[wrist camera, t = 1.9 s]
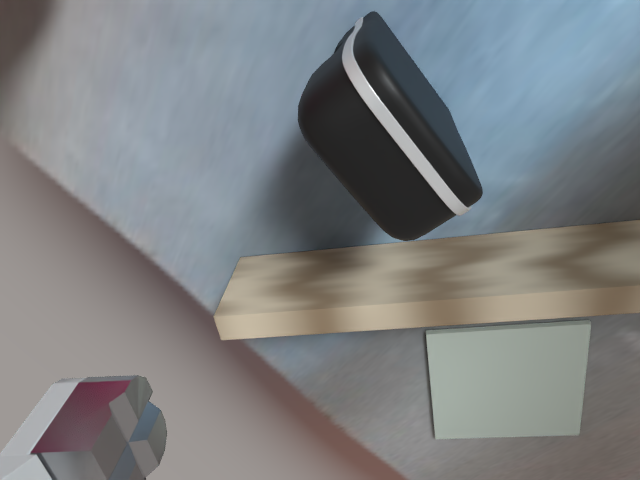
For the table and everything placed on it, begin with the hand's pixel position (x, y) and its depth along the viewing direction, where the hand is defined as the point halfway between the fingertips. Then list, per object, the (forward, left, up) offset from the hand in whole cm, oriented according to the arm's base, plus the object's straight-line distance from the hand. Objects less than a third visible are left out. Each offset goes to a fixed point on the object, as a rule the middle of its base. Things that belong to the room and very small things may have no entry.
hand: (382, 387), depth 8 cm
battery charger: (0, 0, -21) cm, 21 cm away
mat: (-6, +21, -21) cm, 30 cm away
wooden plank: (-2, +10, -21) cm, 23 cm away
